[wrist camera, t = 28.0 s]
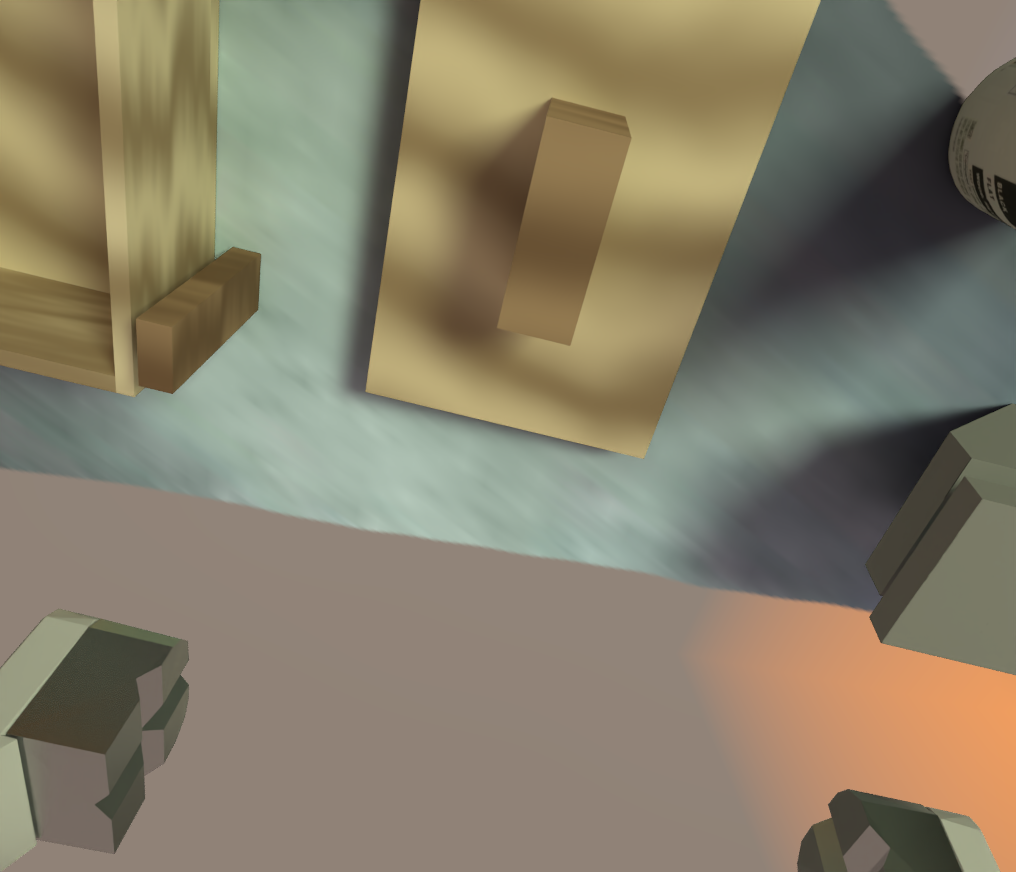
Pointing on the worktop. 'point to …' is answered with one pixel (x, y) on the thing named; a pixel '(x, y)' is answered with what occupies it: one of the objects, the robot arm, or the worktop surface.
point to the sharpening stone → (955, 552)
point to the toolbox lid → (570, 202)
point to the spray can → (988, 145)
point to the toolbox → (113, 194)
